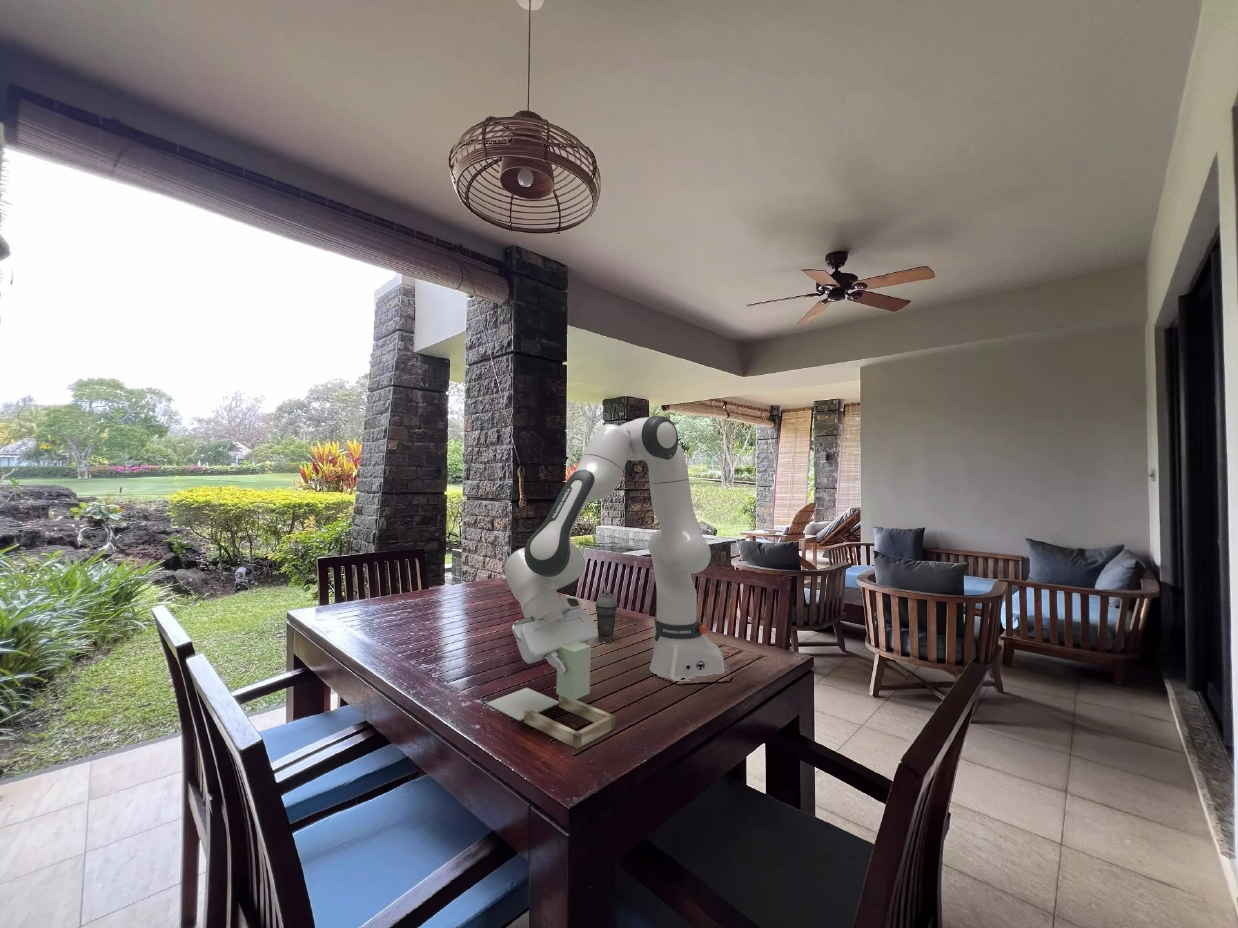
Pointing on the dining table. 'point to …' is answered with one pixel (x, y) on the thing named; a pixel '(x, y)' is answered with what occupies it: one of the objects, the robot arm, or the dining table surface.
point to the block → (574, 671)
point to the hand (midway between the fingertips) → (575, 668)
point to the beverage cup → (606, 615)
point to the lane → (566, 734)
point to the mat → (522, 703)
